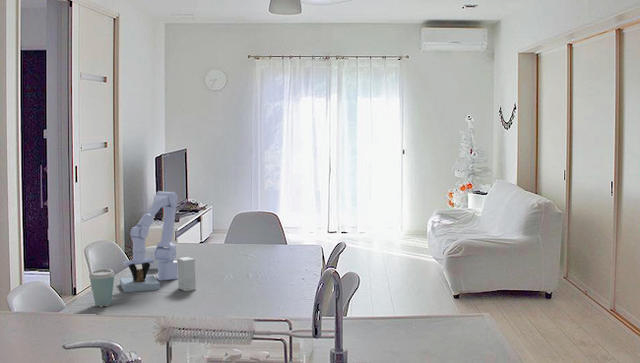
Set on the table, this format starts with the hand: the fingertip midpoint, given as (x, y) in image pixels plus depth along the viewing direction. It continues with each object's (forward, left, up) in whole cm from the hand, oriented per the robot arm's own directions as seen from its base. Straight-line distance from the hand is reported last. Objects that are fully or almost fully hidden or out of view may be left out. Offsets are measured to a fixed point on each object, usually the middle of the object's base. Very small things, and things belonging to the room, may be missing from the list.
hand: (139, 279), depth 324 cm
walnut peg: (0, 0, -2) cm, 2 cm away
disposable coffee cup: (+20, +27, -4) cm, 34 cm away
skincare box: (-20, +12, -4) cm, 24 cm away
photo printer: (-14, -37, -4) cm, 40 cm away
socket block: (0, 0, -4) cm, 4 cm away
